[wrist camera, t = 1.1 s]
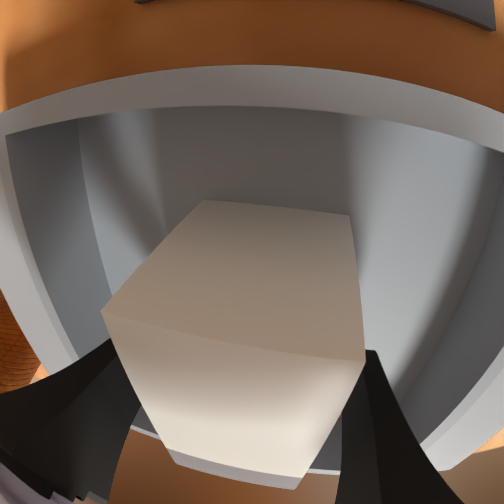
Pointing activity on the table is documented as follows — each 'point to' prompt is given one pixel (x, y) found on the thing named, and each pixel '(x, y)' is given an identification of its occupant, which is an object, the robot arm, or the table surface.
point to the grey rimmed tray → (273, 194)
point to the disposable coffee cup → (14, 353)
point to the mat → (453, 10)
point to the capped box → (244, 337)
